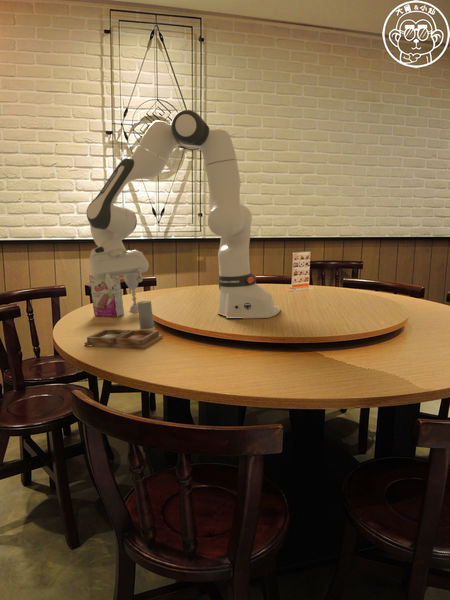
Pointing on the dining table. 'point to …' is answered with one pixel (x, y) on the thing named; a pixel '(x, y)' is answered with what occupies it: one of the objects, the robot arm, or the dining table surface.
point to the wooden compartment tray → (124, 338)
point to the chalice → (132, 285)
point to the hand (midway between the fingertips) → (127, 283)
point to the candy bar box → (106, 297)
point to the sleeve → (145, 315)
